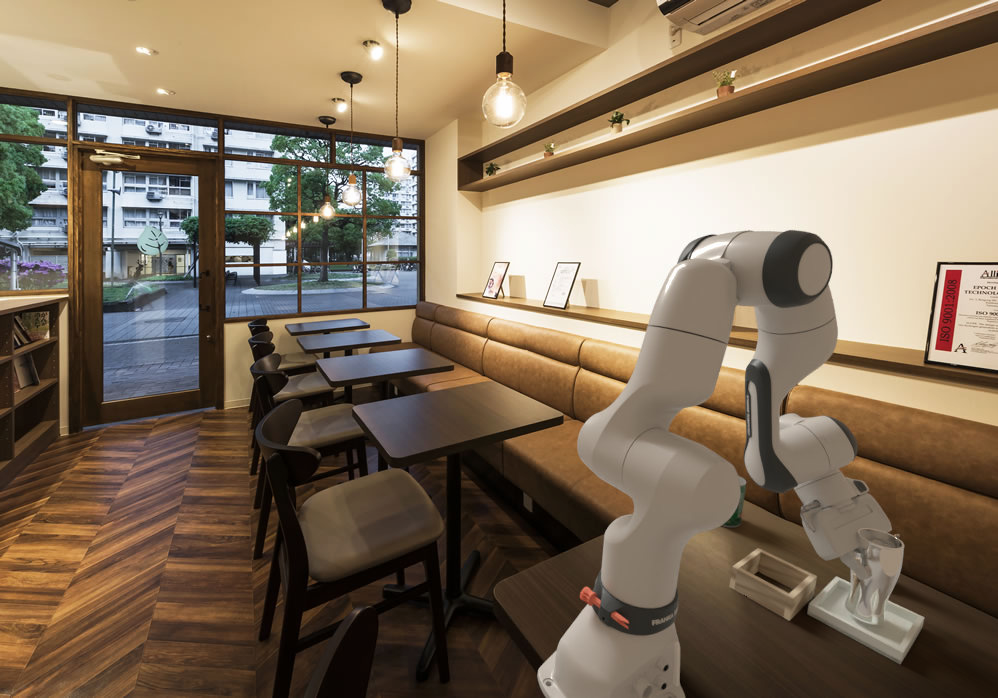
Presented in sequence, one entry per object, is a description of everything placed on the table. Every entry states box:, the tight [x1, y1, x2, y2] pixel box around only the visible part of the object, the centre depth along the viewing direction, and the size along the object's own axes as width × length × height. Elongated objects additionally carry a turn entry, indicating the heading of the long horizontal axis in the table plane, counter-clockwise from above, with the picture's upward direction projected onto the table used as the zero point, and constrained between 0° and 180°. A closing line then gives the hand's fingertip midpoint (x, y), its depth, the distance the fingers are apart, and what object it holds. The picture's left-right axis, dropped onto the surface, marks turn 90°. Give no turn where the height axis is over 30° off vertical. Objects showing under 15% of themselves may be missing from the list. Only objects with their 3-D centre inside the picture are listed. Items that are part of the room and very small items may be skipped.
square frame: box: [729, 547, 818, 622], centre depth 93 cm, size 11×11×4 cm
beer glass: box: [844, 528, 905, 626], centre depth 84 cm, size 7×7×15 cm
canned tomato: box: [720, 475, 747, 528], centre depth 119 cm, size 8×8×11 cm
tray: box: [806, 576, 925, 665], centre depth 86 cm, size 14×14×2 cm
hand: (878, 571), depth 84 cm, fingers closed on beer glass, 7 cm apart
